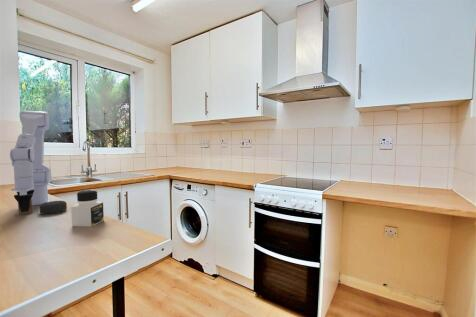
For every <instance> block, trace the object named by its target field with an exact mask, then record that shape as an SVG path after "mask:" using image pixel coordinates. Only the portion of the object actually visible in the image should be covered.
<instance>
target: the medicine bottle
mask: <svg viewBox="0 0 476 317" xmlns="http://www.w3.org/2000/svg"><path fill="white" fill-rule="evenodd" d="M76 198H77V204H75V205H72V206H71V207H70V210H71V211H70V213H71V214H70V215H71V226H72V227H80V228H81V227H82V228H83V227H86V228H89V227H90V228H91V227H93V226H95V225H97V224H99V223H101V222H103V221H104V219H105V218H104V213H105V212H104V202H103V201H98V191H97V190H95V189H84V190H83V189H82V190H80V191H78V192H77V193H76Z"/></svg>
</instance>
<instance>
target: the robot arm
mask: <svg viewBox="0 0 476 317" xmlns="http://www.w3.org/2000/svg"><path fill="white" fill-rule="evenodd" d="M19 121H20V123H21V125H22V127H23V129H22V133H21V134H19V135H18V136H17V139H16V142H15V145H14V148H12V149H10V152H9V157H10V158H9V159H10V160H11V166H12V167H13V177H14V178H13V179H14V180H13V181H14V187H11V188H10V191H15V192H16V194H14V195H13V198H14V199H15V200H16V202H17V205H18V204H19V207H20V210H21V212H27V211H29V206H30V200H32V206H38V205H39V206H40V205H41V204H43V203H46V202H50V199H49V193H48V191H49V190H48V188H49V187H48V184H51V181H52V172H51V168H50V166H47V165H45V164H44V158H45V157H44V154H45V153H44V149H45V148H44V147H45V146H44V145H45V141H44V140H45V133H46V131H48V130H50V115H49V112H48V111H37V110H23V109H22V110H20V112H19Z"/></svg>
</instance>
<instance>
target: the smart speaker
mask: <svg viewBox="0 0 476 317" xmlns="http://www.w3.org/2000/svg"><path fill="white" fill-rule="evenodd" d="M66 210H68V206H67V202H66V201H64V200H52V201H49V202H46V203H43V204H40V205H39V213H40V214H41V215H55V214H59V213H63V212H65V211H66Z"/></svg>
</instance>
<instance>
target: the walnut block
mask: <svg viewBox="0 0 476 317" xmlns="http://www.w3.org/2000/svg"><path fill="white" fill-rule="evenodd" d="M17 207H18V216H22V215H28V214H29V215H30V214H33V211H34V210H33V205H32V200H30V206H29V211H27V212H21V210H20V207H19V204H18V203H17Z"/></svg>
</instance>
